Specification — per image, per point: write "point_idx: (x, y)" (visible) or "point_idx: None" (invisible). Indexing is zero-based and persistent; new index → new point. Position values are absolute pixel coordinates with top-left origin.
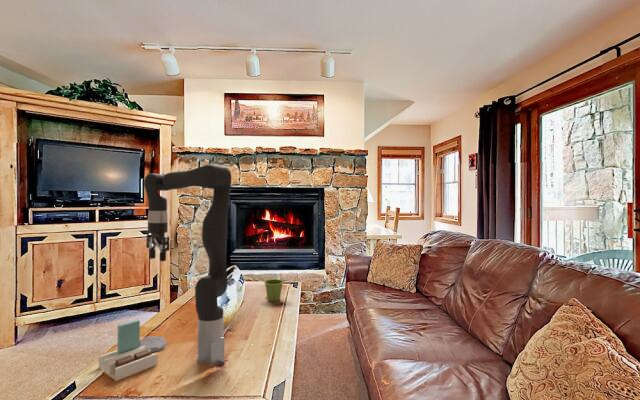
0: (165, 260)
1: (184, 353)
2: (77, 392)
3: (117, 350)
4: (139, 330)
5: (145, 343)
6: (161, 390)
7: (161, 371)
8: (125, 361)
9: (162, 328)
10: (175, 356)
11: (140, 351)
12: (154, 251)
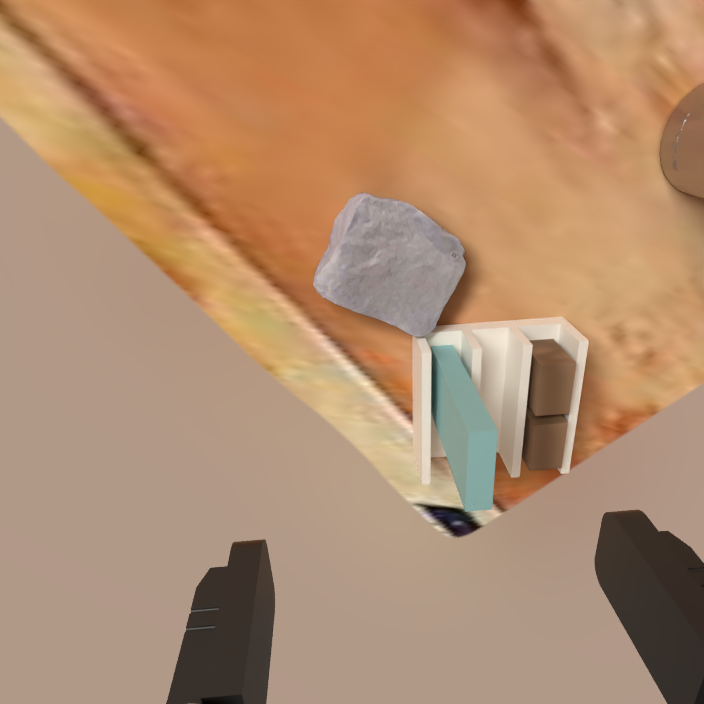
0: (635, 510)
1: (543, 177)
2: (491, 511)
3: (425, 430)
4: (482, 402)
5: (387, 302)
6: (699, 364)
7: (595, 315)
8: (562, 449)
9: (148, 98)
10: (534, 221)
11: (538, 392)
12: (252, 669)
